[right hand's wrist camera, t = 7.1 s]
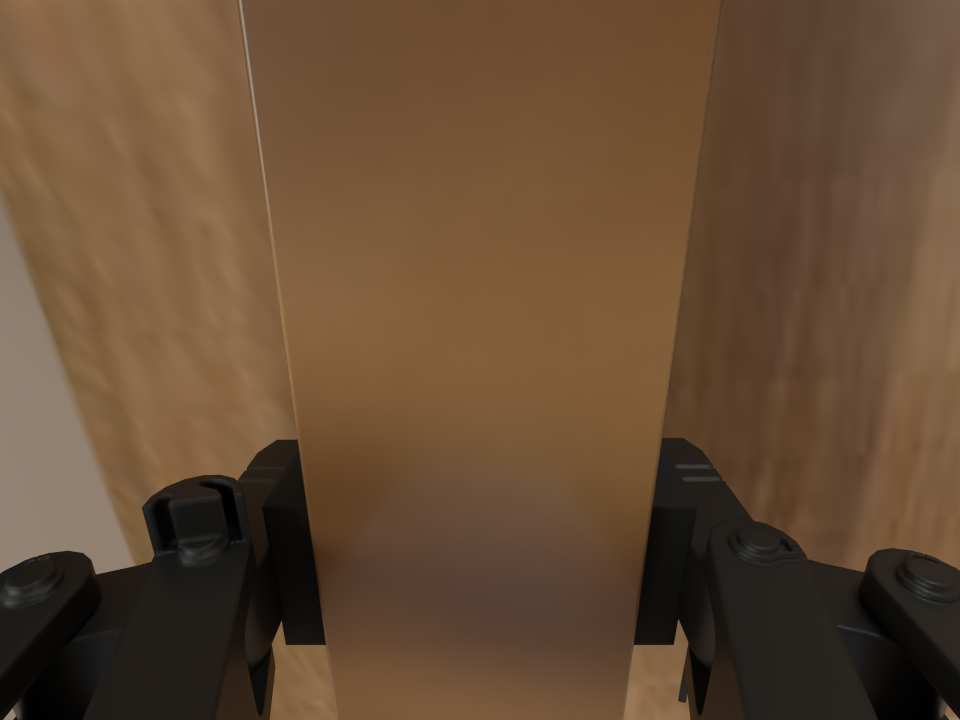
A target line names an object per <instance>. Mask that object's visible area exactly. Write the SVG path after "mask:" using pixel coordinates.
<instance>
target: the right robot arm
mask: <svg viewBox="0 0 960 720" xmlns="http://www.w3.org/2000/svg"><path fill="white" fill-rule="evenodd" d="M142 510H143V513H144V517H145V521H146V524H147V528H148V532H149V535H150V539H151V543H152V547H153V550H154V554H155V555H154V558H153V560H152V562H149V563H146V564H142V565H139V566H134V567H129V568H125V569H120V570H115V571H111V572H106V573H101V574H97V575H96V573H95V570H94V567H93V564H92V561H91V559H89V558H88V557H87V556H86V555H85V554H83V553H79V552H72V551H62V552H54V553H47V554H44V555H40V556H38V557H33V558H30V559H28V560H25V561H23V562H21V563H19V564H17V565H15V566H13V567H11V568H9V569H7V570H5V571H3V572H2V573H1V574H0V720H3V719H4V718H5V717H6V715H7V714H8V713H9V712H10V711H11V709H12V708H13V710H14V712H15V714H16V717H15V718H14V720H270V711H271V702H272V693H273V684H274V675H275V661H274V654H273V649H272V642H273V640H274V637H275V635H276V632H277V630H278V628H279V625H280V623H281V620H282V625H283V630H284V636H285V642H286V645H326V640H325V633H324V626H323V618H322V611H321V604H320V597H319V589H318V582H317V575H316V568H315V561H314V553H313V546H312V539H311V532H310V524H309V517H308V510H307V503H306V496H305V488H304V481H303V474H302V467H301V459H300V452H299V445H298V440H276V441H275V442H273V443H272V444H270V445H269V446H267V447H266V448H264V449H263V450H261V451H260V452H258V453H257V455H256V456H255V457H254V459H253V460H252V461H251V463H250V464H249V466H248V467H247V471H244V472H243V474H242V475H241V477H240V478H239V479H238V481H237V480H236V479H234V478H231V477H227V476H223V475H203V476H198V477H194V478H189V479H184V480H182V481H180V482H177V483H175V484H172V485H170V486H167V487H165V488H164V489H162V490H161V491H159V492H158V493H156V494H155V495H153V496H151V498H150V499H149V500H148V501H147V502H146V503H145V505H144V506H143V507H142ZM678 619H679V621H680V623H681V626H682V628H683V630H684V633H685V635H686V638H687V640H688V642H689V643H688V649H687V654H686V659H685V665H684V670H683V675H682V681H681V686H680V692H679V699H678V701H680V702H685V703H686V698H687V693H688V701H689V710H690V719H691V720H949V719H948V718H947V717H946V715H945V714H944V713H945V711H946V709H947V706H949V707H950V708H951V709H952V711H953V712H954V713H955V714H956V715H957V717H958V718H959V719H960V571H959V570H958V569H957V568H955V567H952V566H950V565H948V564H946V563H944V562H942V561H940V560H939V559H937V558H934V557H932V556H929V555H926V554H925V555H924V554H922V553H919V552H915V551H910V550H902V549H894V548H891V549H885V550H878V551H876V552H875V553H874V554H873V555H872V556H870V557H869V560H868V563H867V566H866V569H865V572H860V571H856V570H851V569H846V568H842V567H837V566H832V565H828V564H823V563H819V562H815V561H812V560H808V559H807V557H806V554H805V553H804V552H803V550H802V549H801V547H800V546H799V545H798V543H797V542H796V541H794V540H793V539H792V538H790V537H789V536H788V535H786V534H785V533H784V532H782V531H780V530H778V529H776V528H774V527H771V526H769V525H767V524H765V523H761V522H757V521H753V520H752V518H751V517H750V516H749V514H748V513H747V511H746V510H745V509H744V507H743V506H742V505H741V503H740V502H739V501H738V499H737V498H736V496H735V495H734V494H733V492H732V491H731V490H730V488H729V487H728V486H727V484H726V483H725V481H722V477H721V476H720V475H719V473H718V472H717V471H716V469H713V465H712V464H711V462H710V461H709V460H708V458H707V457H706V456H705V454H704V453H703V451H702V450H700V449H698V448H697V447H695V446H694V445H692V444H691V443H689V442H688V441H686V440H685V439H683V438H662V441H661V448H660V456H659V463H658V470H657V477H656V485H655V492H654V499H653V506H652V514H651V521H650V528H649V535H648V543H647V550H646V557H645V564H644V572H643V579H642V586H641V593H640V601H639V608H638V615H637V622H636V630H635V637H634V644H633V645H674V640H675V634H676V628H677V622H678Z"/></svg>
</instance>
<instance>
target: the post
mask: <svg viewBox="0 0 960 720" xmlns="http://www.w3.org/2000/svg"><path fill="white" fill-rule="evenodd" d="M237 4H238V11H239V19H240V26H241V33H242V40H243V47H244V55H245V62H246V69H247V76H248V84H249V91H250V98H251V105H252V112H253V120H254V127H255V134H256V141H257V149H258V156H259V163H260V170H261V178H262V185H263V192H264V199H265V206H266V214H267V221H268V228H269V235H270V243H271V250H272V257H273V264H274V271H275V279H276V286H277V293H278V300H279V308H280V315H281V322H282V329H283V337H284V344H285V351H286V358H287V365H288V373H289V380H290V387H291V394H292V402H293V409H294V416H295V423H296V430H297V438H298V445H299V452H300V459H301V467H302V474H303V481H304V488H305V496H306V503H307V510H308V517H309V524H310V532H311V539H312V546H313V553H314V561H315V568H316V575H317V582H318V589H319V597H320V604H321V611H322V618H323V626H324V633H325V640H326V647H327V655H328V662H329V669H330V676H331V683H332V691H333V698H334V705H335V712H336V720H623V717H624V709H625V702H626V695H627V688H628V680H629V673H630V666H631V659H632V651H633V644H634V637H635V630H636V622H637V615H638V608H639V601H640V593H641V586H642V579H643V572H644V564H645V557H646V550H647V543H648V535H649V528H650V521H651V514H652V506H653V499H654V492H655V485H656V477H657V470H658V463H659V456H660V448H661V441H662V434H663V427H664V419H665V412H666V405H667V398H668V390H669V383H670V376H671V369H672V361H673V354H674V347H675V340H676V332H677V325H678V318H679V311H680V303H681V296H682V289H683V282H684V274H685V267H686V260H687V253H688V245H689V238H690V231H691V224H692V216H693V209H694V202H695V195H696V187H697V180H698V173H699V166H700V158H701V151H702V144H703V137H704V129H705V122H706V115H707V108H708V100H709V93H710V86H711V79H712V71H713V64H714V57H715V50H716V42H717V35H718V28H719V21H720V13H721V6H722V0H237Z"/></svg>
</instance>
